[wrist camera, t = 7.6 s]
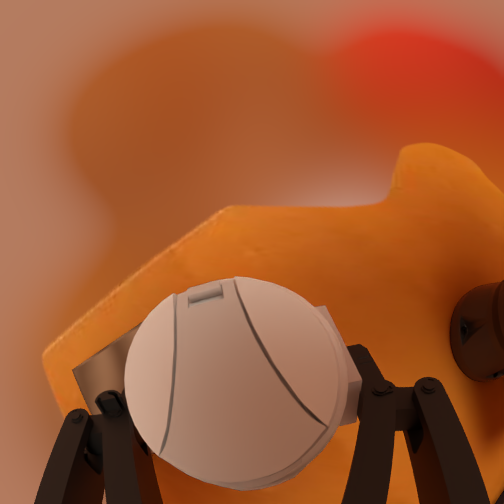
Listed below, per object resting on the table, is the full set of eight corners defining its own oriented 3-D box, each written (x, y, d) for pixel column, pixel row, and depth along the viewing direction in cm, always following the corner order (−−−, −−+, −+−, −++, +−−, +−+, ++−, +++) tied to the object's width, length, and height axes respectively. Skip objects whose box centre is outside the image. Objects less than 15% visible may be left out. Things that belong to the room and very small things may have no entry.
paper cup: (209, 357, 22) (105, 293, 10) (303, 332, 22) (308, 235, 10) (231, 449, 18) (137, 504, 6) (330, 425, 18) (385, 463, 6)
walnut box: (167, 328, 38) (149, 315, 32) (223, 413, 31) (212, 417, 26) (96, 375, 35) (70, 369, 29) (141, 459, 28) (119, 466, 23)
